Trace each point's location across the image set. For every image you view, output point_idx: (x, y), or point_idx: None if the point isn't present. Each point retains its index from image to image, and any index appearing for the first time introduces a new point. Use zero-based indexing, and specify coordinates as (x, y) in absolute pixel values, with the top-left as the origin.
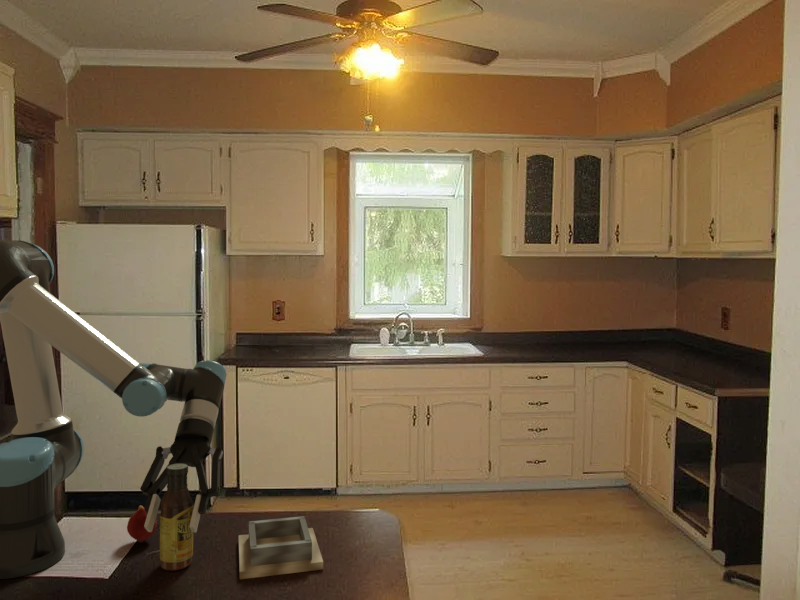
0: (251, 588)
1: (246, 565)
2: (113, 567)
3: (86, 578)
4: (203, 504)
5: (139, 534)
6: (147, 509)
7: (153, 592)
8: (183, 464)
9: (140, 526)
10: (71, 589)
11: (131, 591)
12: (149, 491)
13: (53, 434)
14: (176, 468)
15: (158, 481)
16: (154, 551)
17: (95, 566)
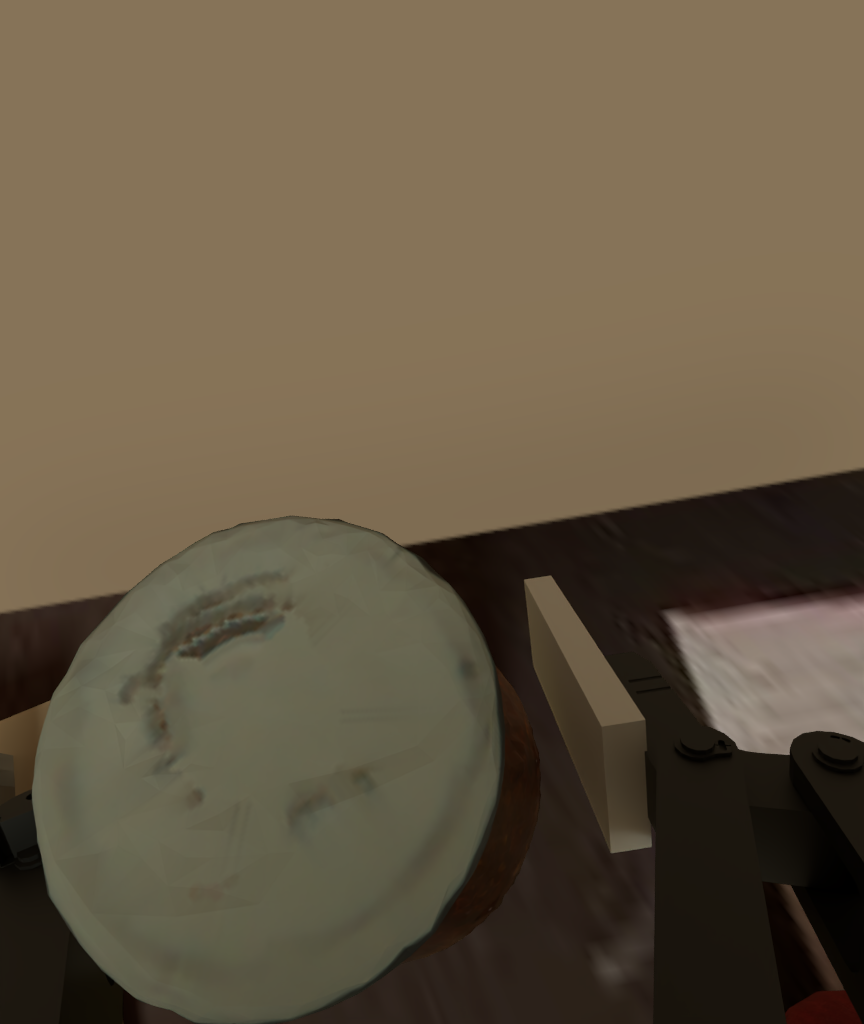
0: (29, 642)
1: (34, 763)
2: (722, 709)
3: (757, 597)
4: None
5: (811, 999)
6: (618, 661)
7: (410, 550)
8: (152, 892)
9: (836, 1017)
10: (740, 515)
11: (498, 542)
12: (718, 740)
13: None
14: (224, 561)
15: (709, 861)
16: (641, 940)
17: (818, 704)
